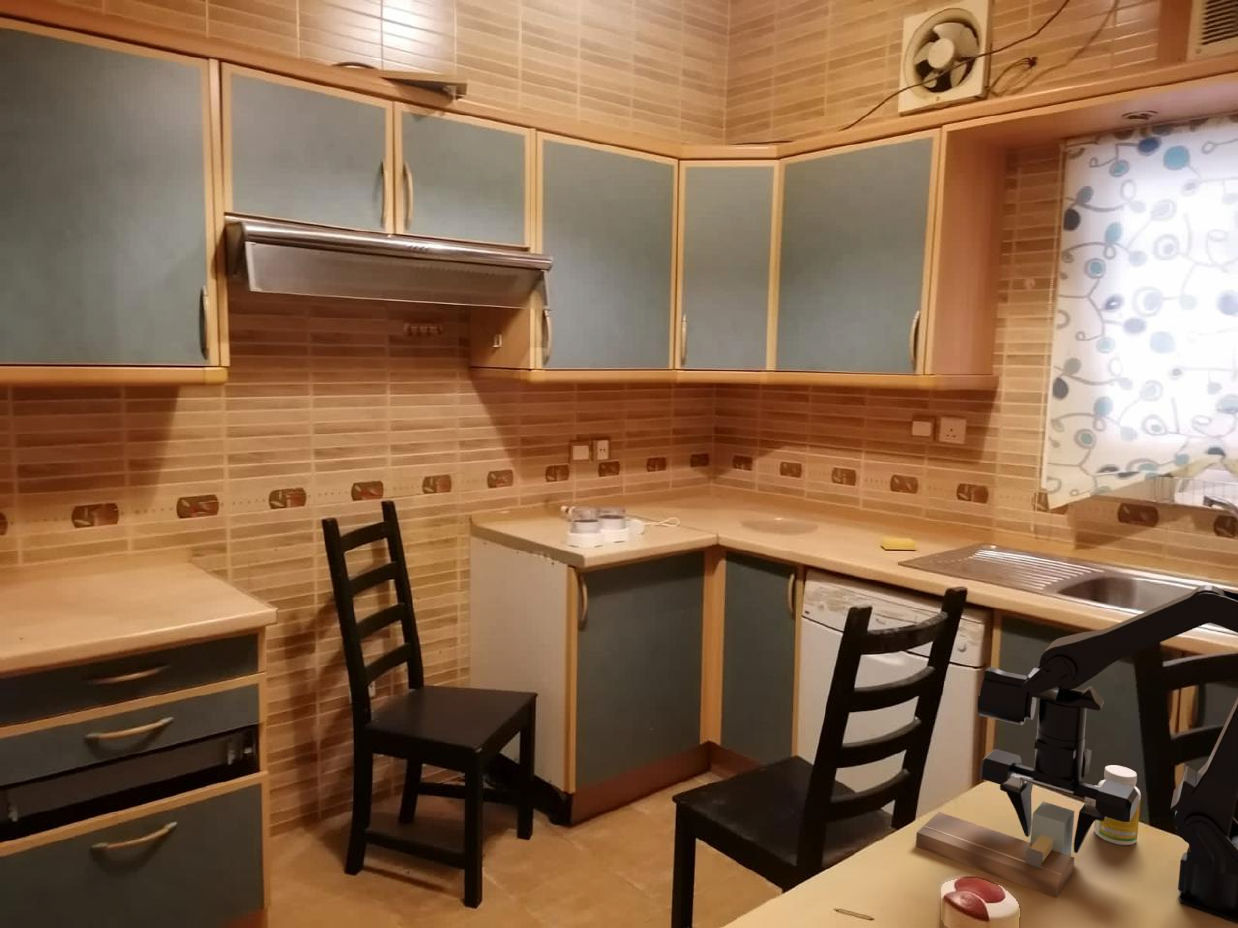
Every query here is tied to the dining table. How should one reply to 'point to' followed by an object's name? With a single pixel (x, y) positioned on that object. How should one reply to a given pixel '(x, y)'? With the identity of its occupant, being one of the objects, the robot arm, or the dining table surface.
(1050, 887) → the board
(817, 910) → the dining table surface
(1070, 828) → the light blue block
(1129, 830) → the supplement bottle
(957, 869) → the dining table surface
